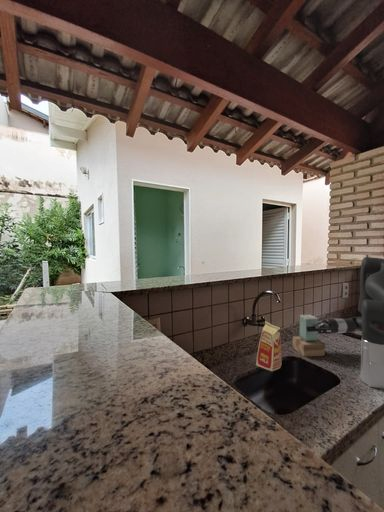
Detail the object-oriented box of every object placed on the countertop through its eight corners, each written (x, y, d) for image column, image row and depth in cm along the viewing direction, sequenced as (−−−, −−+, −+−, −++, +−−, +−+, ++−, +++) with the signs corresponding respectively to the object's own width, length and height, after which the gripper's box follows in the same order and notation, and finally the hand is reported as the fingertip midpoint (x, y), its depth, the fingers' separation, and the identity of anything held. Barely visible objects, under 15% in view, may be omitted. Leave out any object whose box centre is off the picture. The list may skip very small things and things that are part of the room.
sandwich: (324, 355, 119) (324, 343, 118) (303, 356, 118) (303, 344, 117) (311, 346, 130) (312, 335, 129) (292, 347, 129) (292, 336, 128)
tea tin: (317, 341, 121) (317, 318, 120) (305, 341, 120) (306, 318, 120) (310, 336, 127) (310, 314, 126) (299, 337, 126) (299, 314, 126)
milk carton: (256, 365, 110) (256, 322, 109) (266, 358, 116) (266, 318, 115) (274, 372, 103) (274, 327, 102) (284, 365, 109) (284, 322, 108)
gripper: (325, 314, 131) (296, 315, 130) (344, 323, 117) (311, 324, 116) (325, 328, 132) (296, 329, 130) (344, 338, 117) (311, 339, 116)
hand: (303, 327), depth 123 cm, fingers closed on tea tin, 6 cm apart
